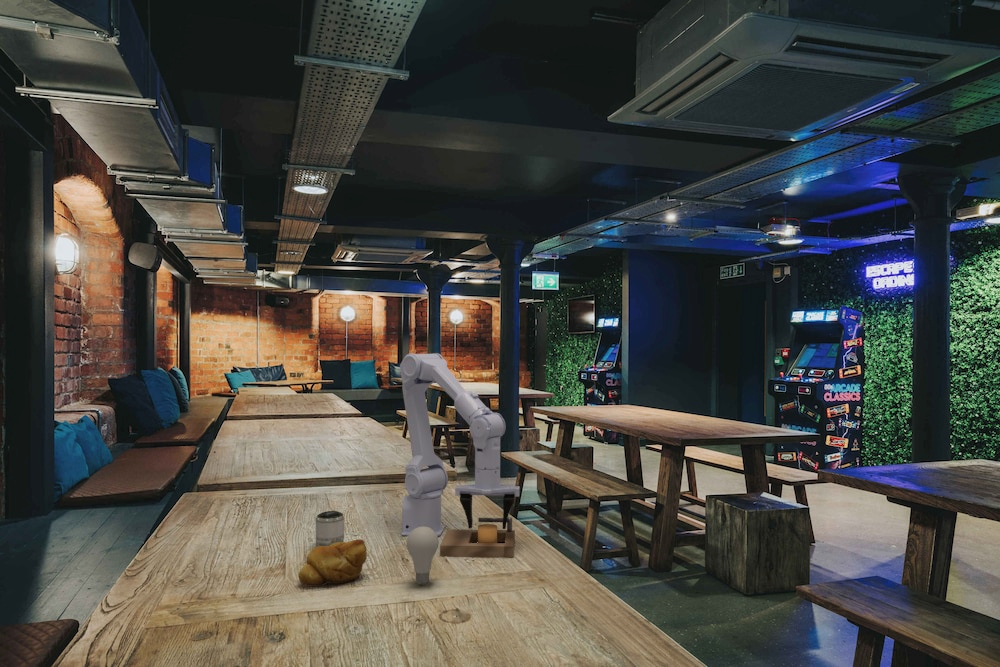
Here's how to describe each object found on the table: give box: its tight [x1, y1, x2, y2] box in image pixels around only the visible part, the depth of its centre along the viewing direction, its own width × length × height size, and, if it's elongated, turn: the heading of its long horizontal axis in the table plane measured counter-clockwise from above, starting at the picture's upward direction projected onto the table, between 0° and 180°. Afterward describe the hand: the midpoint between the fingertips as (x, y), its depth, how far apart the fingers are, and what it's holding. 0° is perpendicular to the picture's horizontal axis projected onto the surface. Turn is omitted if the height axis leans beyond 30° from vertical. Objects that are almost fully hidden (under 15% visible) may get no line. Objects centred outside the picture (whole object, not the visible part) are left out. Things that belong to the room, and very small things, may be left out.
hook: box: [477, 516, 513, 532], centre depth 145 cm, size 8×1×6 cm, turn 87°
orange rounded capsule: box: [477, 523, 498, 543], centre depth 140 cm, size 4×4×5 cm
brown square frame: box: [439, 528, 516, 559], centre depth 140 cm, size 16×12×2 cm
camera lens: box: [315, 510, 345, 547], centre depth 141 cm, size 6×6×8 cm
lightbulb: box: [406, 526, 440, 586], centre depth 119 cm, size 6×6×11 cm
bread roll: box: [298, 539, 368, 587], centre depth 122 cm, size 13×10×8 cm
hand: (487, 527), depth 140 cm, fingers open, 7 cm apart
